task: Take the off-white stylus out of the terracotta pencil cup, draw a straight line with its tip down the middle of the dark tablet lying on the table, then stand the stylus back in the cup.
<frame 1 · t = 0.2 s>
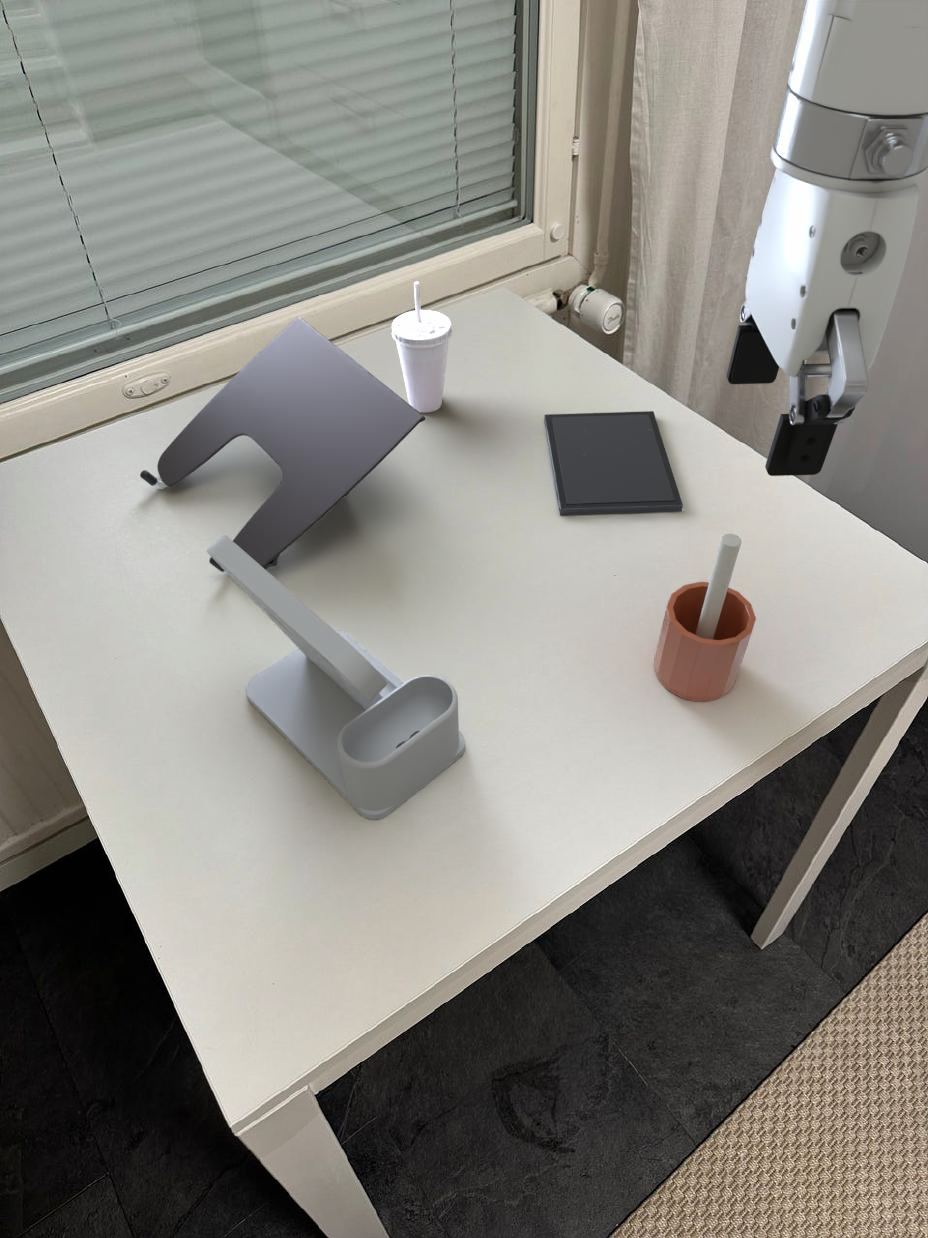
hand: (769, 424, 56), 24 cm above the table, tool pointing down, fingers open, 9 cm apart
phone holder: (353, 722, 71), on the table
tablet: (609, 463, 93), on the table
stylus: (695, 666, 73), resting on pencil cup
pencil cup: (694, 670, 74), on the table
laptop tray: (278, 493, 90), on the table
smoothie: (425, 404, 101), on the table
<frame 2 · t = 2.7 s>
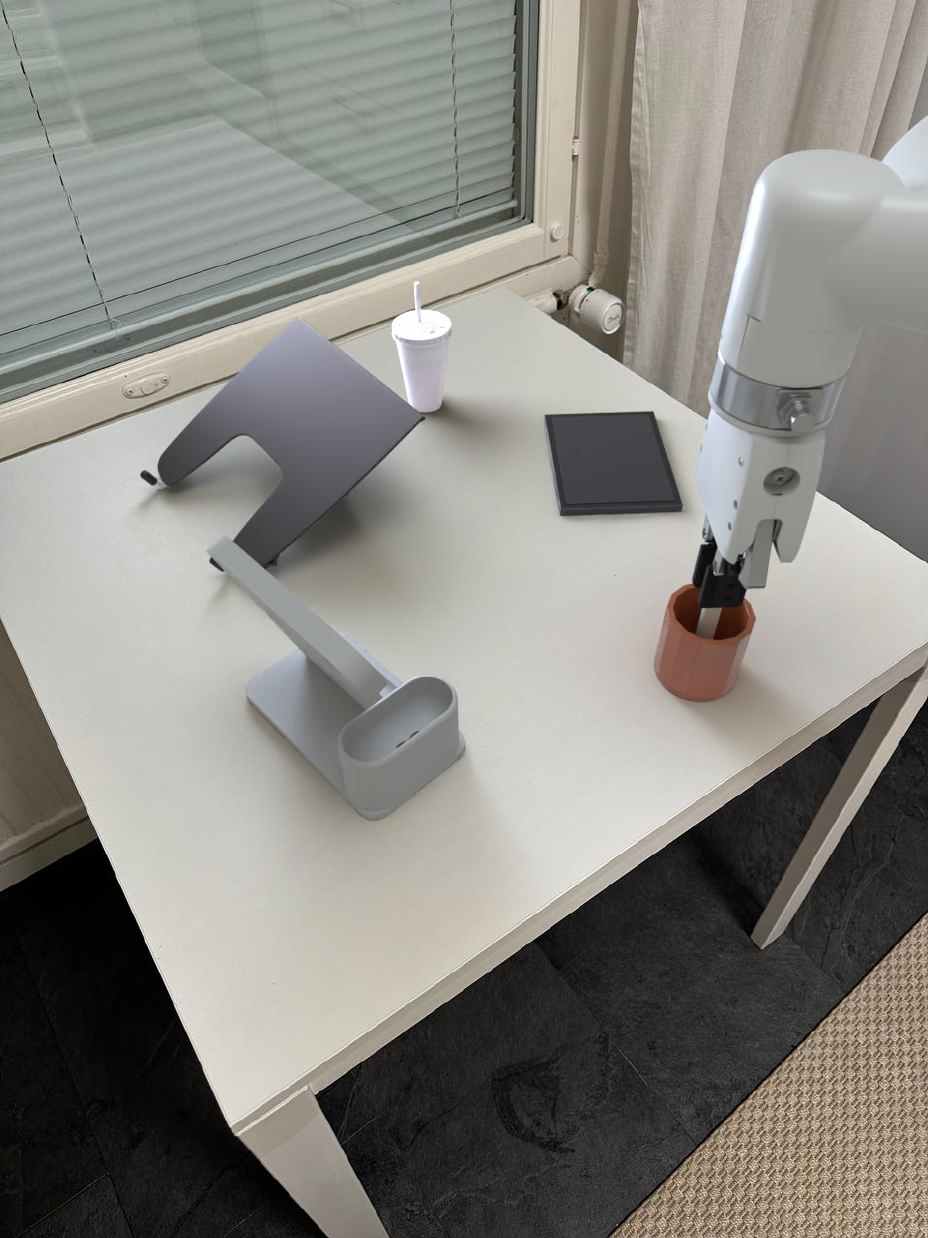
hand: (716, 593, 67), 9 cm above the table, tool pointing down, fingers closed on stylus, 1 cm apart
stylus: (695, 666, 73), resting on pencil cup, touching gripper
everything else where it was.
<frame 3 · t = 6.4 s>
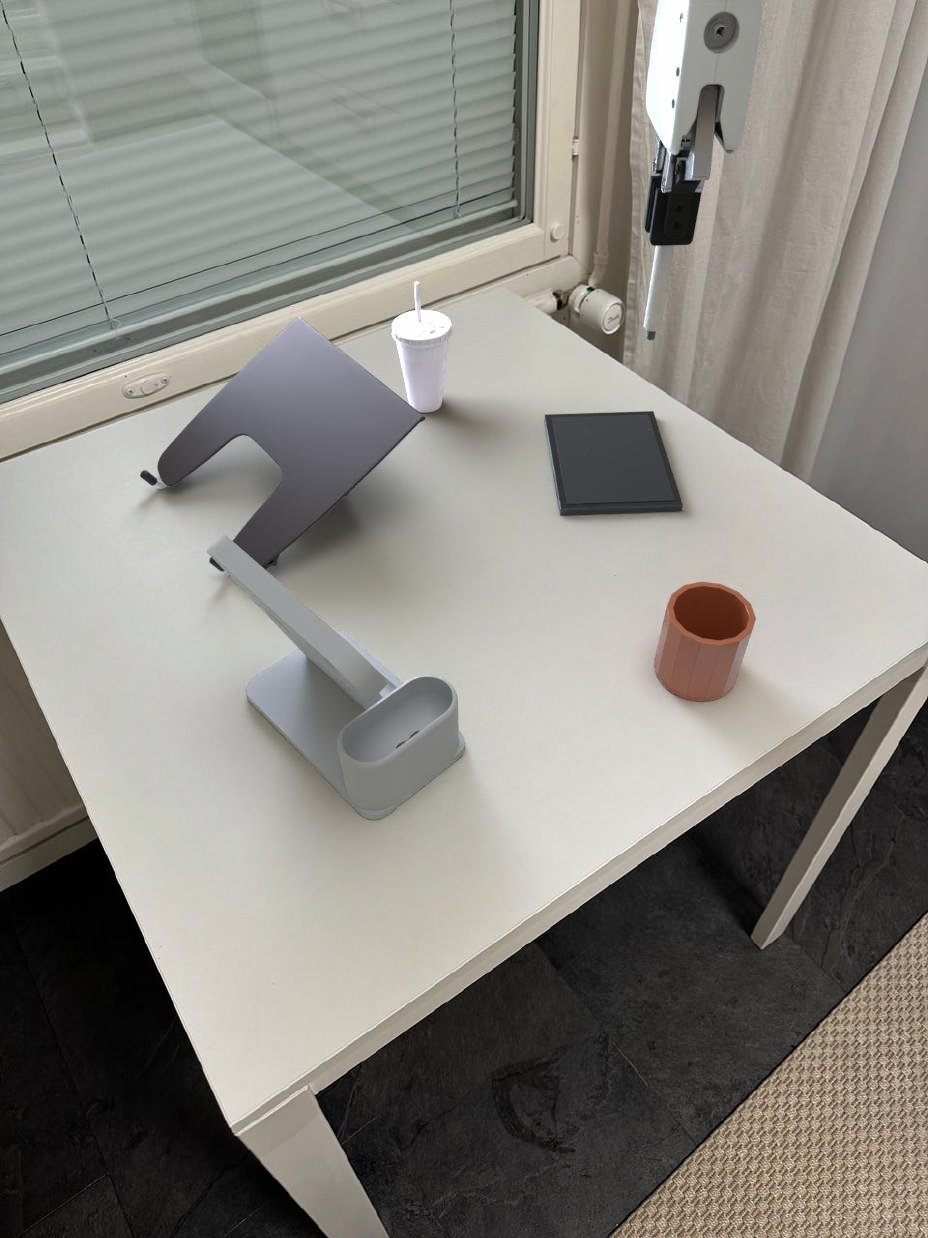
hand: (667, 235, 67), 27 cm above the table, tool pointing down, fingers closed on stylus, 1 cm apart
stylus: (650, 338, 74), point 19 cm above the table, touching gripper
everything else where it was.
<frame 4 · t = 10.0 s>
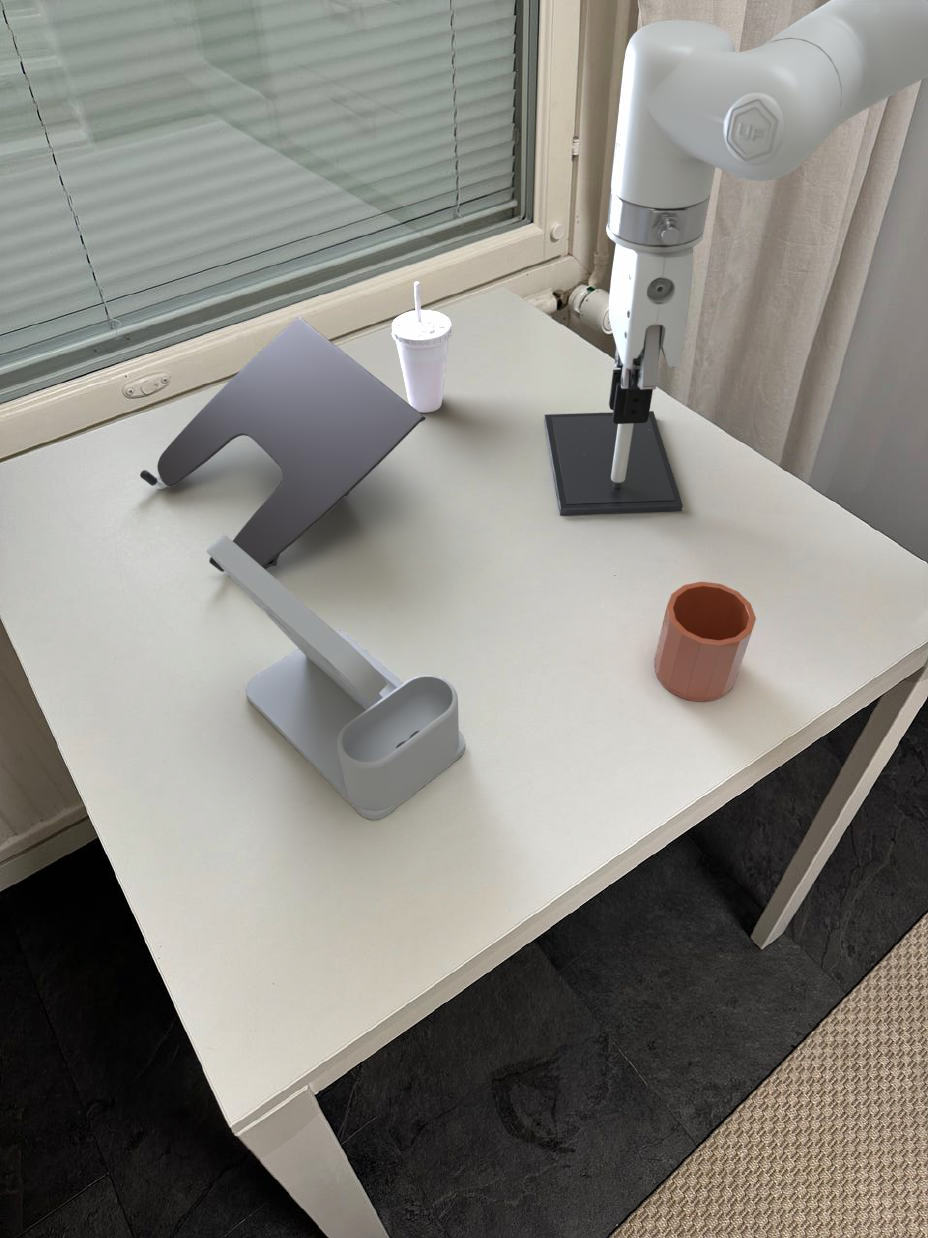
hand: (627, 413, 82), 9 cm above the table, tool pointing down, fingers closed on stylus, 1 cm apart
stylus: (616, 486, 89), point 1 cm above the table, touching gripper
everything else where it was.
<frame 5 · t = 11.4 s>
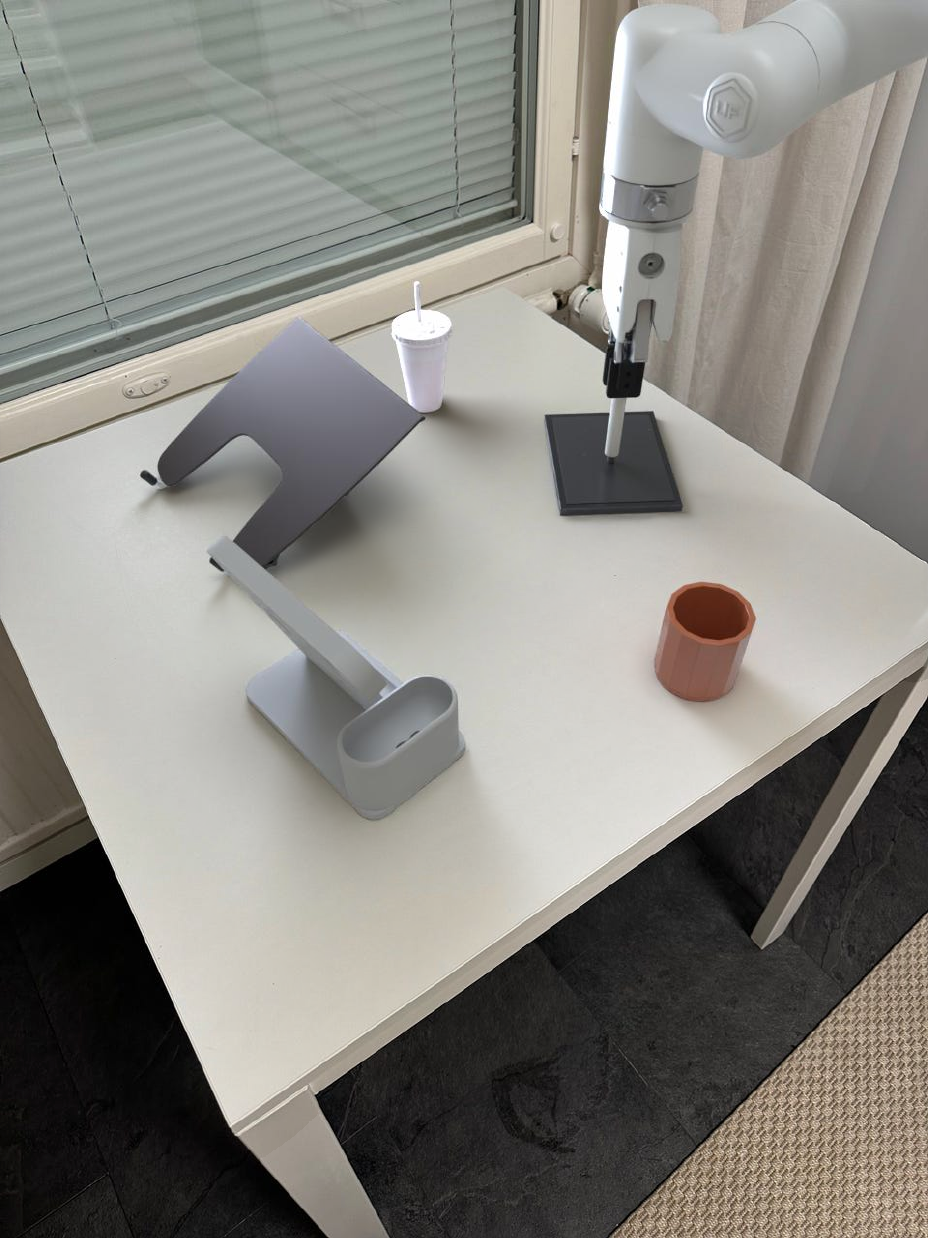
hand: (621, 388, 85), 9 cm above the table, tool pointing down, fingers closed on stylus, 1 cm apart
stylus: (610, 461, 91), point 1 cm above the table, touching gripper
everything else where it was.
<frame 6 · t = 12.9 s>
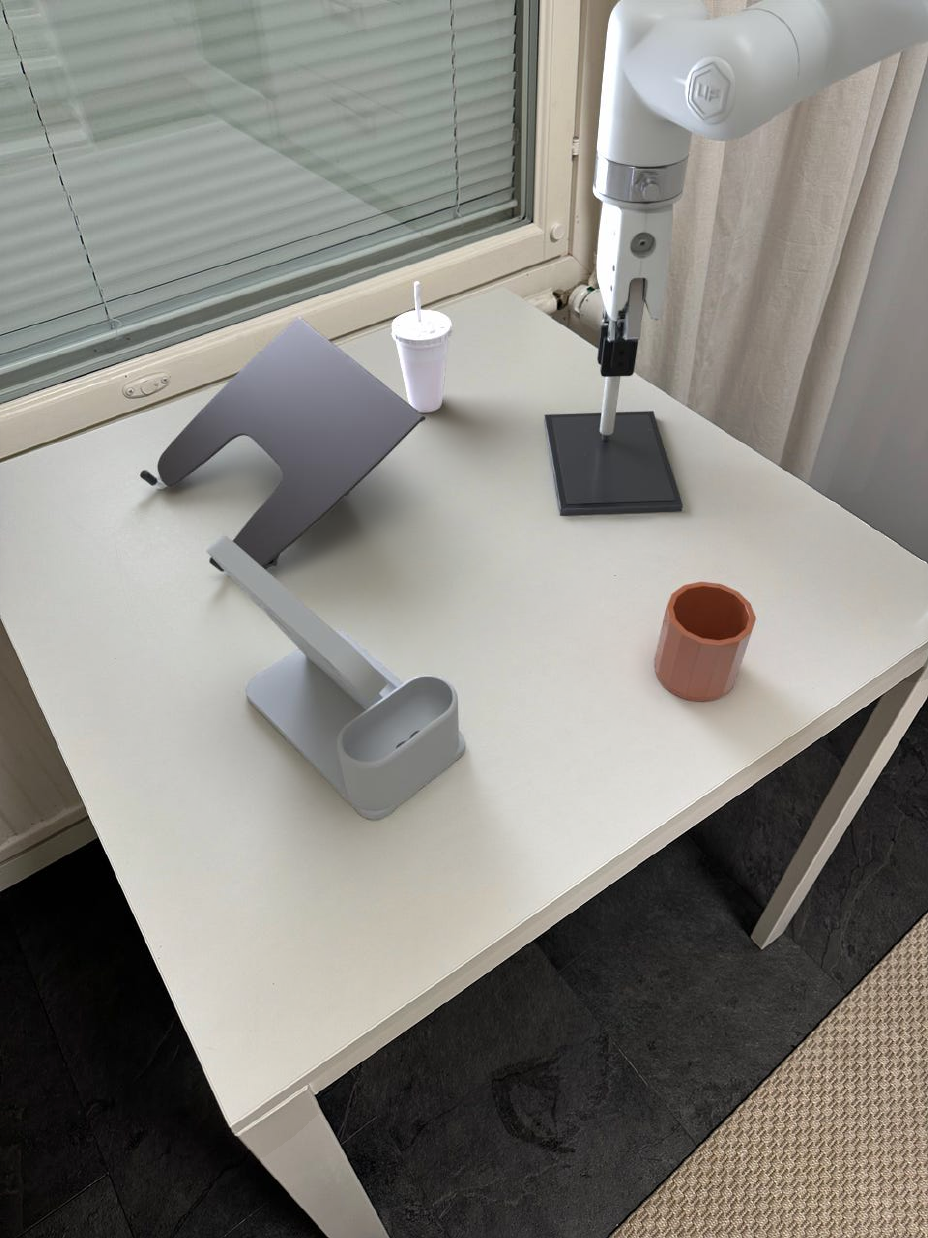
hand: (615, 367, 88), 9 cm above the table, tool pointing down, fingers closed on stylus, 1 cm apart
stylus: (605, 439, 94), point 1 cm above the table, touching gripper
everything else where it was.
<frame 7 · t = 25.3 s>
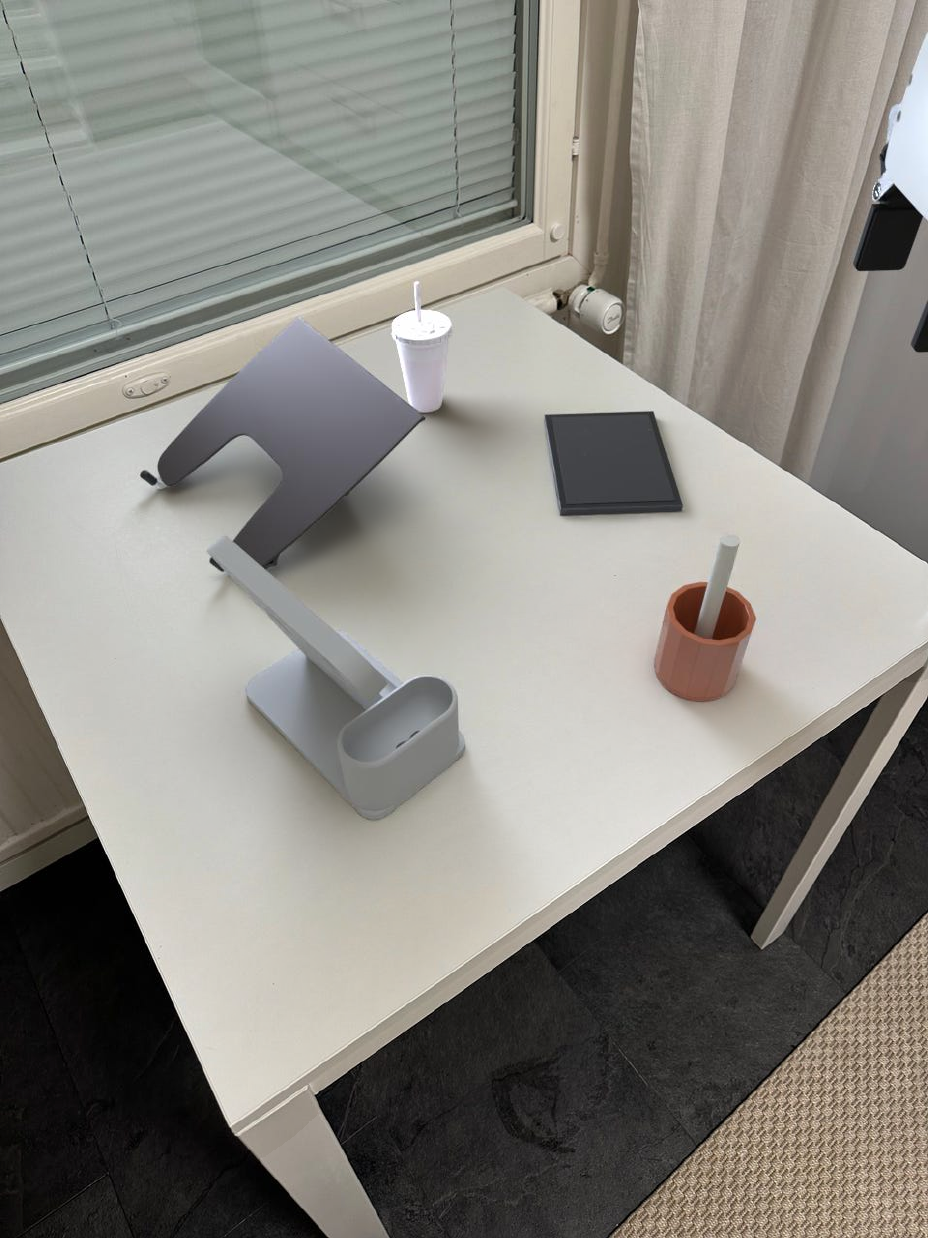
hand: (906, 306, 54), 30 cm above the table, tool pointing down, fingers open, 9 cm apart
stylus: (694, 666, 73), resting on pencil cup
everything else where it was.
at the end: stylus 0.1 cm off-centre in the pencil cup, point 0.5 cm above the pencil cup's base; stylus tilted 0°; stylus touching pencil cup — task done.
